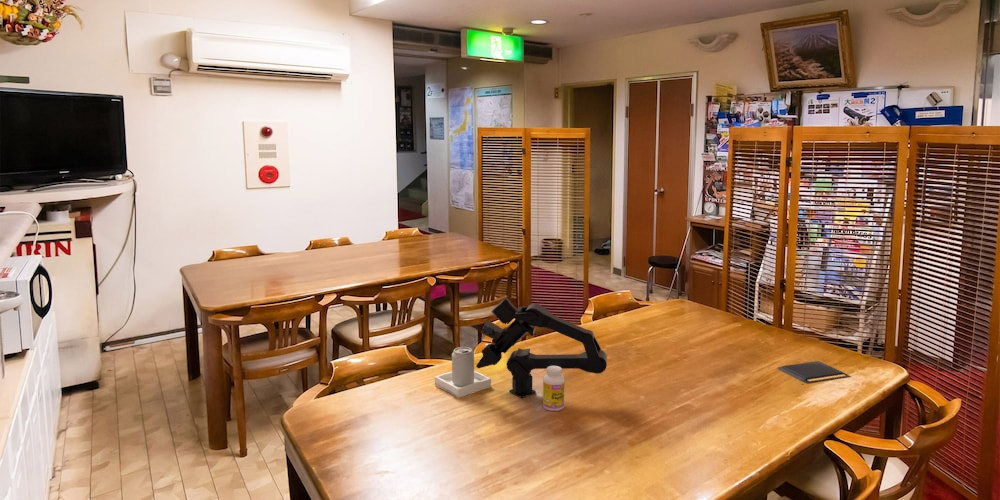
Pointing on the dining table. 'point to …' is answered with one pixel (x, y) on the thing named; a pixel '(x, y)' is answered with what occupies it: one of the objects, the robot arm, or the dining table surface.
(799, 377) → the dark grey book
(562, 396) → the supplement bottle
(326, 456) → the dining table surface
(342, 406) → the dining table surface
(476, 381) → the tray
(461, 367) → the can
